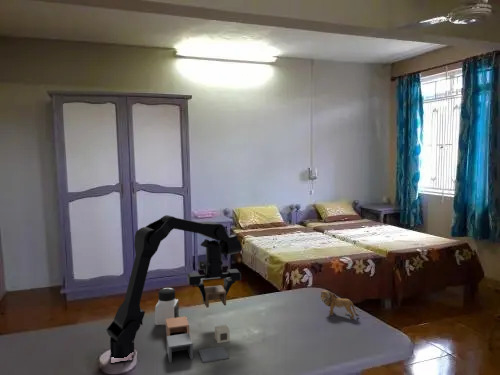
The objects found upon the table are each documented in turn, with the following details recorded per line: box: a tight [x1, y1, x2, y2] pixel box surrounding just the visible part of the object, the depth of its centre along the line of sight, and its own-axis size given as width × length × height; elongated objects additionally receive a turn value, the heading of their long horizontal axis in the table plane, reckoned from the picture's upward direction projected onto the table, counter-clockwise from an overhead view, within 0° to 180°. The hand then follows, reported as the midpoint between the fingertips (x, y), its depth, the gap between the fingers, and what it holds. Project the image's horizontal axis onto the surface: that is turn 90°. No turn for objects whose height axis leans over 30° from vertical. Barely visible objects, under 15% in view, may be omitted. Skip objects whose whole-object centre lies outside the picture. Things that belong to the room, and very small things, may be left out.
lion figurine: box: [319, 289, 360, 320], centre depth 152 cm, size 15×5×9 cm, turn 72°
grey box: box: [166, 332, 194, 364], centre depth 122 cm, size 7×7×5 cm
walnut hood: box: [202, 284, 227, 308], centre depth 142 cm, size 7×7×5 cm
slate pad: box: [198, 346, 230, 364], centre depth 122 cm, size 8×7×1 cm
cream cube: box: [214, 324, 231, 344], centre depth 132 cm, size 4×4×4 cm
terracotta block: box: [165, 316, 190, 337], centre depth 134 cm, size 7×7×5 cm
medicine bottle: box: [154, 287, 180, 326], centre depth 146 cm, size 7×7×12 cm
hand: (214, 299), depth 142 cm, fingers closed on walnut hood, 7 cm apart
